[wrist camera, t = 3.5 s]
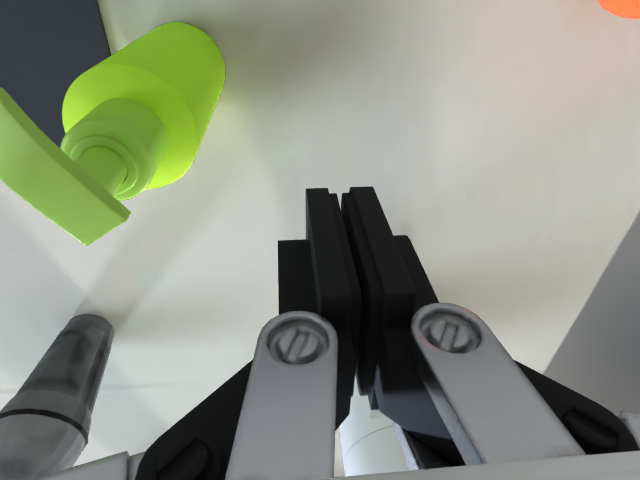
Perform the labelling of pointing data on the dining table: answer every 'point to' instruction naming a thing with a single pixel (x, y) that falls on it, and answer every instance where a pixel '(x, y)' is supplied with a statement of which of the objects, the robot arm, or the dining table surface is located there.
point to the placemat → (48, 54)
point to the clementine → (622, 7)
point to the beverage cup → (55, 403)
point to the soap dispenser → (116, 131)
